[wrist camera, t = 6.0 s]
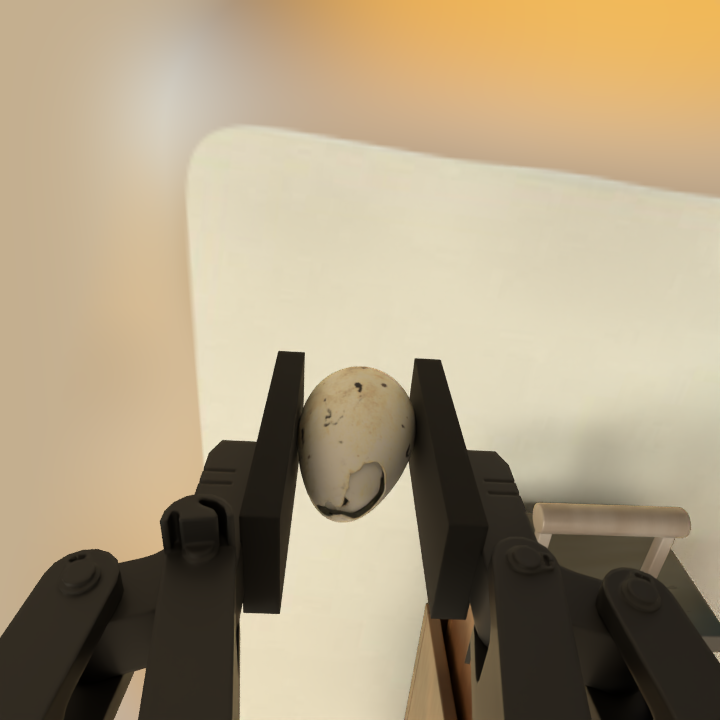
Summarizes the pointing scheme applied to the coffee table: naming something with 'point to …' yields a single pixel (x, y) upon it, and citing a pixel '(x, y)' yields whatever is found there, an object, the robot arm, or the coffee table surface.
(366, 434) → the egg
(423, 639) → the cabinet
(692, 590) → the drawer
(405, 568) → the coffee table surface
